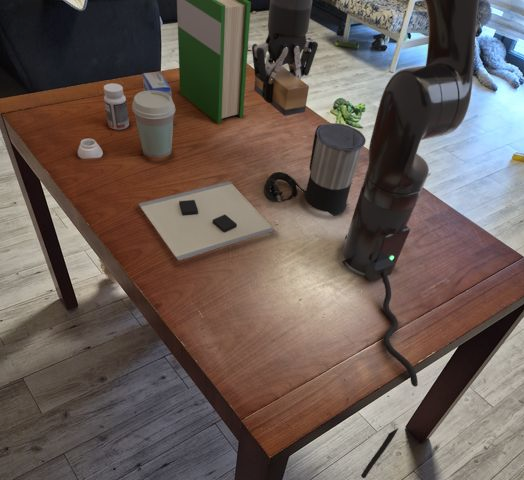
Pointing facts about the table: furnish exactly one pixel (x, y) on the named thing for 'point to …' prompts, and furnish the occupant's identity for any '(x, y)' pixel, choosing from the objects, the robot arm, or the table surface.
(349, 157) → the milk frother
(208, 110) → the hardback book
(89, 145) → the white jar
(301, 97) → the eraser
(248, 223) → the board
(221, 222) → the smudge
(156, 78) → the medicine box
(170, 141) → the coffee cup
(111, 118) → the pill bottle
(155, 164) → the table surface
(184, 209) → the smudge
